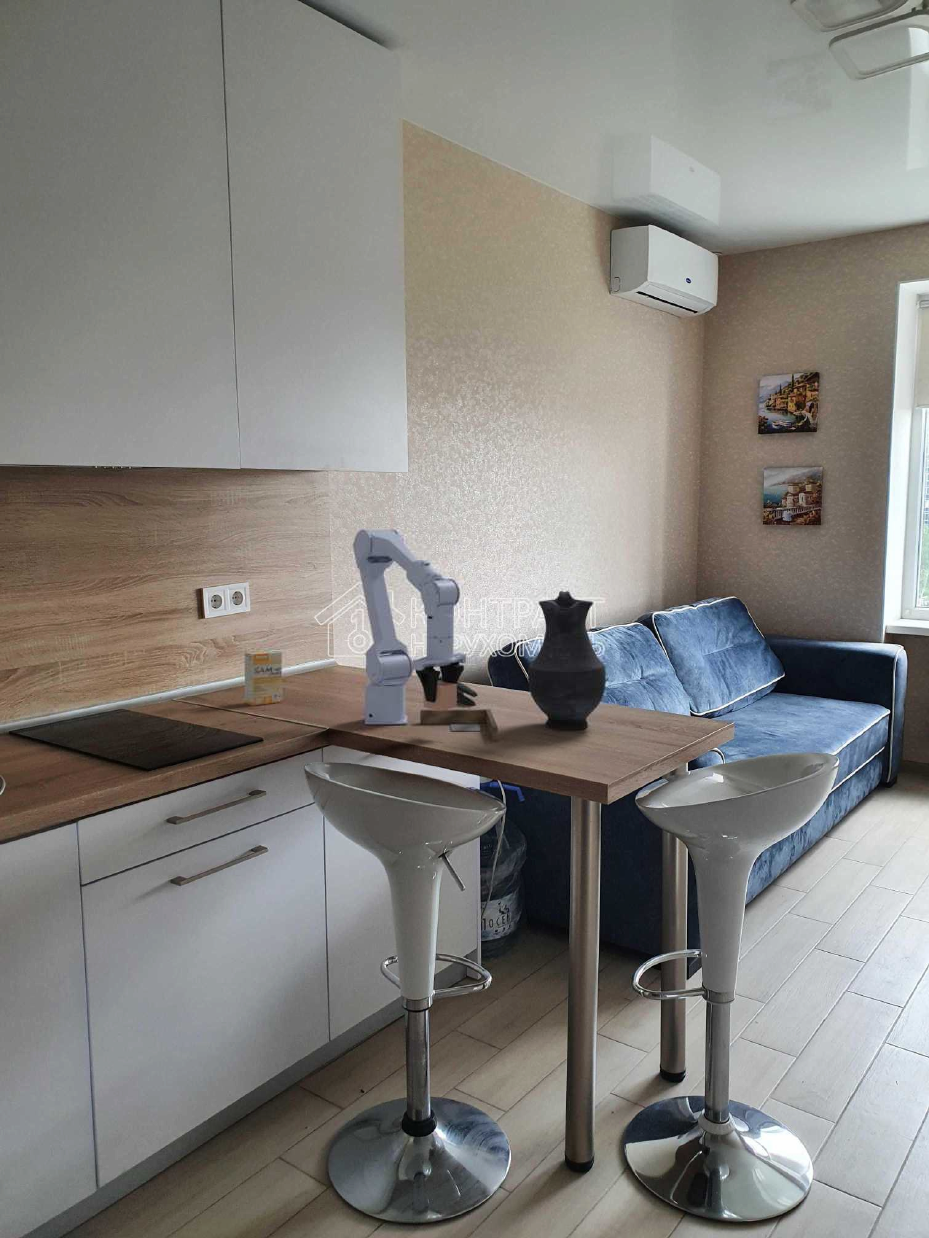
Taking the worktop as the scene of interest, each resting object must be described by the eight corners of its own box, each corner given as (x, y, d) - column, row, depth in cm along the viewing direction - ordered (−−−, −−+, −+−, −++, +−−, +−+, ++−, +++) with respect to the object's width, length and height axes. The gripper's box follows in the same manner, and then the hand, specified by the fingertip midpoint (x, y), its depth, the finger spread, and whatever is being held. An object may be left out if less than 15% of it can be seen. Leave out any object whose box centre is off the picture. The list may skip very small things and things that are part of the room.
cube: (440, 710, 194) (440, 687, 194) (423, 707, 198) (423, 684, 197) (456, 707, 198) (456, 684, 197) (439, 703, 201) (439, 681, 201)
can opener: (430, 696, 245) (430, 675, 244) (453, 693, 248) (453, 673, 247) (461, 708, 229) (462, 686, 228) (486, 705, 232) (486, 683, 232)
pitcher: (528, 734, 201) (530, 596, 198) (526, 713, 222) (528, 589, 219) (608, 735, 200) (611, 597, 197) (598, 715, 221) (601, 589, 218)
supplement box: (253, 706, 228) (252, 653, 227) (244, 703, 232) (243, 651, 231) (283, 702, 233) (282, 651, 232) (274, 699, 237) (273, 648, 236)
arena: (421, 741, 193) (421, 727, 193) (420, 722, 212) (420, 709, 211) (497, 741, 194) (497, 727, 194) (490, 722, 213) (490, 709, 212)
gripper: (430, 641, 188) (429, 707, 190) (476, 635, 199) (476, 697, 200) (405, 638, 193) (405, 702, 194) (452, 632, 204) (452, 693, 205)
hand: (439, 699), depth 198 cm, fingers closed on cube, 5 cm apart
